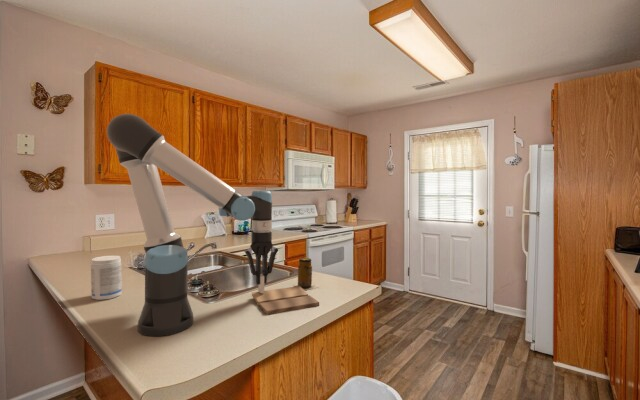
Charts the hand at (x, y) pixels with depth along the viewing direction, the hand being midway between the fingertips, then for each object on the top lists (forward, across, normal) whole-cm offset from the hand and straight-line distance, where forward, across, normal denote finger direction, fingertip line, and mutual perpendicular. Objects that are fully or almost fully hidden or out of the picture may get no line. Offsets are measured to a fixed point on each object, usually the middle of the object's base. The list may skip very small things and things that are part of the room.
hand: (261, 292), depth 121 cm
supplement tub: (+2, -52, +26) cm, 58 cm away
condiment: (+3, +22, +6) cm, 23 cm away
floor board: (+2, +7, -12) cm, 14 cm away
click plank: (+2, +7, -3) cm, 8 cm away
